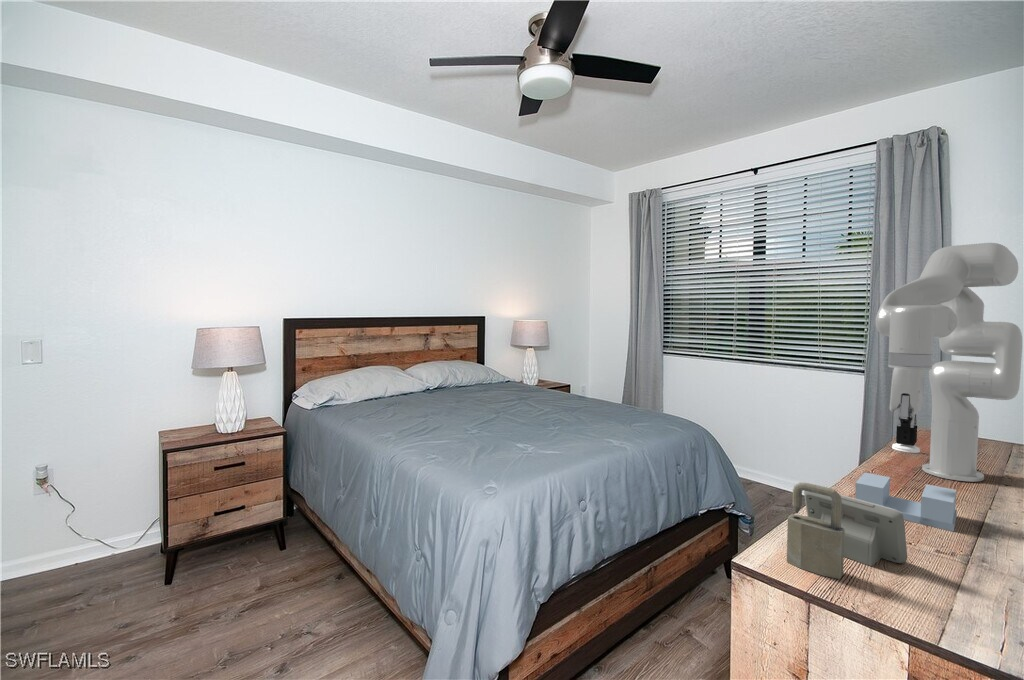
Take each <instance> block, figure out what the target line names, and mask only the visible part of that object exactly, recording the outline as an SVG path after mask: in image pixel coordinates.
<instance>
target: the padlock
mask: <svg viewBox="0 0 1024 680" xmlns="http://www.w3.org/2000/svg"><path fill="white" fill-rule="evenodd" d="M804 491H808V492H813V493H817V494H821V495H826V496H830V497H831V498H832V509H831V523H830V522H827V521H823V520H819V519H816V518H812V517H808V516H807V515H806V516H805V515H803V514H802V515H800V514H799V512H800V510H801V508H802V505H803V499H802V498H803V492H804ZM839 494H840V493H839V492H838V491H836V490H835V489H833V488H831V487H827V486H824V485H817V484H813V483H809V482H801V481H800V482H798V483H795V484H794V486H793V488H792V502H791V503H792V504H791V505H792V507H793V510H794V513H790V515H789V516H788V517H787V530H786V531H787V533H786V536H787V540H786V562H787V563H789V564H791V565H793V566H795V567H797V568H799V569H802V570H805V571H808V572H810V573H814V574H816V575H819V576H822V577H828V578H832V579H838V580H841V579H842V576H843V575H844V560H845V559H844V558H845V557H844V534H845V528H844V527H841V509H842V500H841V496H840V495H839Z"/></svg>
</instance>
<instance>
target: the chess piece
mask: <svg viewBox="0 0 1024 680" xmlns="http://www.w3.org/2000/svg"><path fill="white" fill-rule="evenodd" d="M909 417H911V416H909ZM891 448H892V450H895V451H899V452H902V453H904V452H905V453H913V454H914V453H915V454H916V453H920V452H921V447H919V446H917V445H916V444H915V445H914V446H910V445H903V444H897V443H892V446H891Z"/></svg>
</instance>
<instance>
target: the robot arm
mask: <svg viewBox="0 0 1024 680" xmlns="http://www.w3.org/2000/svg"><path fill="white" fill-rule="evenodd" d="M1018 273H1019V263H1018V259H1017V257H1016V256H1015V254H1014V253H1013V252H1012V251H1011V250H1010V249H1009V248H1008V247H1006V246H1005V245H1003V244H1000V243H996V242H981V243H970V244H960V245H959V244H958V245H949V246H944V247H941V248H939V249H937V250H935V251H934V252H933V253H932V254H931V255H930V256H929V258H928V260H927V262H926V264H925V266H924V268H923V270H922V272H921V274H920V276H919V278H916V279H915V280H912V281H910V282H908V283H906V284H903V285H902V286H900V287H897V288H896V289H894V290H892V291H891V292H889V293H888V294H887V295H886V297H885V298H884V299H883V301H882V303H881V305H880V306H879V309H878V311H877V313H876V316H875V322H874V323H875V328H876V331H878V332H879V334H880V335H882V336H884V337H889V338H888V339H889V340H888V342H889V343H888V361H887V362H888V363H887V364H888V365H887V367H888V368H891V369H893V370H892V376H891V386H890V397H889V399H890V400H889V411H890V412H891V413H894V412H895V411H897V410H898V411H897V425H896V432H895V433H896V438H895V441H896V443H897V444H903V445H910V446H914V445H915V446H916V444H917V441H918V425H917V420H918V419H917V418H918V414H919V413H920V412H921V410H922V407H923V401H924V391H925V379H926V378H925V377H926V371H927V370H929V371H928V379H929V386H930V392H931V423H930V426H931V427H930V442H929V443H930V444H929V445H930V449H929V463H924V464H922V465H921V470H922V471H924V472H925V473H927V474H928V475H932V476H935V477H938V478H943V479H947V480H951V481H953V480H954V481H958V482H968V483H969V482H970V483H971V482H972V483H973V482H977V483H978V482H982V481H984V480H985V475H984V474H983V473H982V472H980V471H977V463H978V446H979V445H978V443H979V425H980V424H979V423H980V414H979V412H978V409H977V408H976V406H975V405H974V404H973V403H972V402H971V401H970V400H969V399H968V398H978V399H985V400H986V399H988V400H996V401H1009V400H1013V399H1014V398H1016V397H1017V395H1018V393H1019V391H1020V383H1021V374H1022V373H1021V372H1022V370H1021V369H1022V358H1023V355H1022V354H1023V335H1022V334H1023V333H1022V330H1021V329H1020V327H1019V326H1018V325H1017V324H1015V323H1012V322H1009V321H1007V322H1006V321H984V313H985V304H984V301H983V300H982V298H980V296H979V295H978V294H976V292H974V291H973V290H972V289H971V288H980V287H981V288H983V287H988V288H989V287H1004V286H1005V287H1006V286H1008V285H1010V284H1012V283H1014V281H1015V280H1016V278H1017V276H1018ZM934 339H938V340H939V342H938V344H939V349H940V351H941V352H942V353H944V354H946V355H948V356H949V355H950V356H956V357H958V356H959V357H970V358H971V357H972V358H973V357H974V358H990V359H994V360H995V362H983V361H982V362H981V361H971V360H970V361H969V360H942V361H938V362H935V363H933V357H934V356H933V355H934ZM909 416H911V417H909Z"/></svg>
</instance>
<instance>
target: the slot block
mask: <svg viewBox="0 0 1024 680" xmlns="http://www.w3.org/2000/svg"><path fill="white" fill-rule="evenodd" d="M890 486H891V477H889V476H885V475H880V474H876V473H869V472H863V473H862V475H861V476H860V477H859V478H858V480H856V482H855V492H854V493H855V497H854V498H856V499H859V500H863V501H867V502H871V503H874V504H878V505H882V506H885V507H889V508H892V509H896V510H898V511H899V512H900V513H901V514H902V515H903V517H904V521H907V522H911V523H917V524H920V525H923V526H928V527H933V528H937V529H942V530H944V531H950V532H953V533H954V531H955V526H956V522H957V516H958V514H957V513H958V511H957V509H956V503H957V502H956V501H957V489H953V488H947V487H943V486H937V485H934V484H933V485H932V484H928V483H926V484H925V486H924V489H923V491H922V494H921V497H920V499H921V500H920V502H919V501H916V500H910V499H907V498H906V499H905V498H901V497H896V496H891V495H890V491H891V490H890V489H891V487H890Z"/></svg>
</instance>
